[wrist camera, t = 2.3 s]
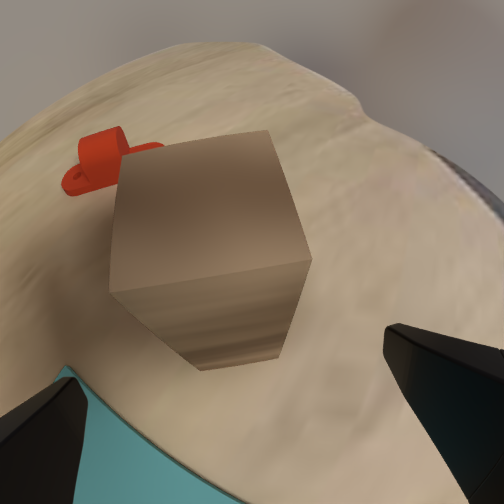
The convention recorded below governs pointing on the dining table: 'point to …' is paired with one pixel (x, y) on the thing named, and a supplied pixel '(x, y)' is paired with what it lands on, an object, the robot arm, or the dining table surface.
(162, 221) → the walnut block
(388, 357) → the robot arm
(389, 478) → the dining table surface
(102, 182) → the bracket
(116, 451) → the mat
